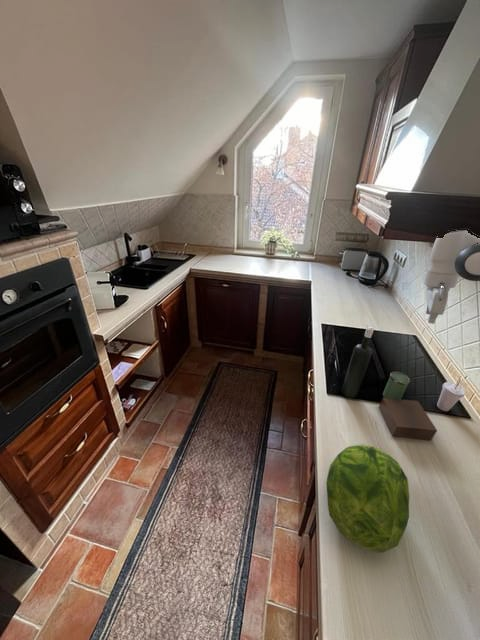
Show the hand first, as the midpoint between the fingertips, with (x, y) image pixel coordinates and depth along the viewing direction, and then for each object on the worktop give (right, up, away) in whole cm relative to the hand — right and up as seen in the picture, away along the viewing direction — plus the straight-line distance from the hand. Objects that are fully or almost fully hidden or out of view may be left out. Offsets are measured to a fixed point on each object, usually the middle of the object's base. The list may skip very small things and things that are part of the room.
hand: (429, 318), depth 91 cm
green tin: (-10, -30, +7) cm, 32 cm away
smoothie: (+7, -33, +3) cm, 34 cm away
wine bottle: (-25, -29, +8) cm, 40 cm away
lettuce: (-37, -48, -25) cm, 66 cm away
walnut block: (-12, -36, -3) cm, 38 cm away
